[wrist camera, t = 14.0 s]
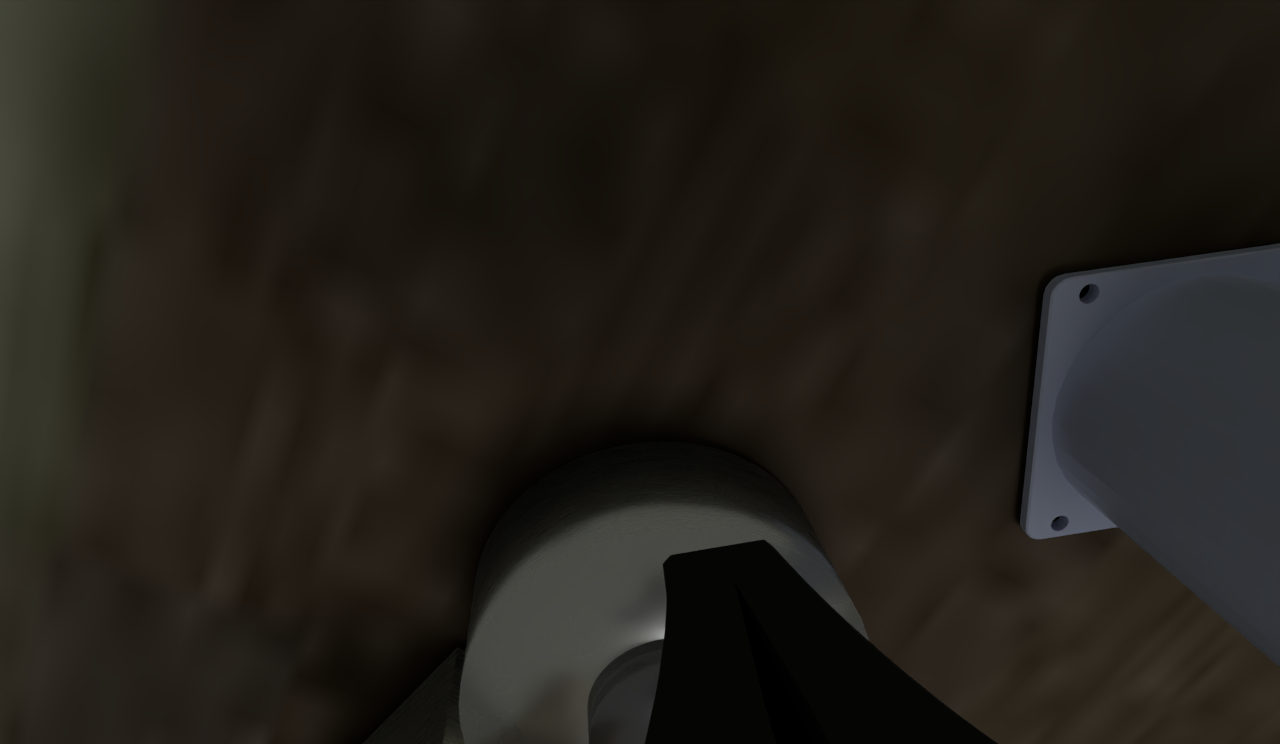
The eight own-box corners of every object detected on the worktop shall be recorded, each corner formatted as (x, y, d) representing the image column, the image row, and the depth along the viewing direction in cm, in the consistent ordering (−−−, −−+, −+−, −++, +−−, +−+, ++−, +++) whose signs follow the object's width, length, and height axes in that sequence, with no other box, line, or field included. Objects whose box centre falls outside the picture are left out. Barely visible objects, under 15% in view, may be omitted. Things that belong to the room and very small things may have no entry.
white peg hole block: (639, 369, 20) (665, 470, 15) (889, 569, 23) (972, 701, 18) (276, 752, 23) (209, 926, 19) (537, 877, 27) (534, 1050, 22)
